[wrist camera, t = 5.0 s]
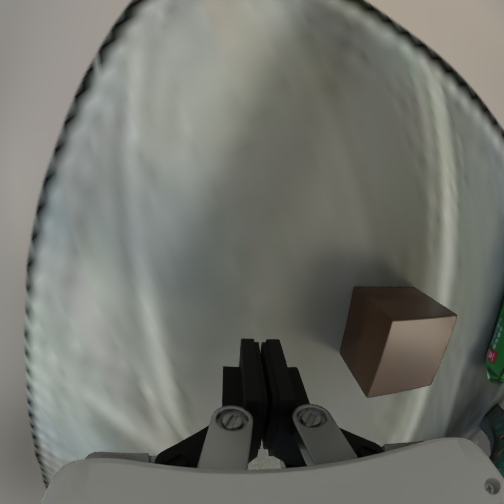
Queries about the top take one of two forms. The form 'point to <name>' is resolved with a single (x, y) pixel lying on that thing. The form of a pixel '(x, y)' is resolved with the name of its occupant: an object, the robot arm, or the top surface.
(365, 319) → the walnut block
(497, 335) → the snack package
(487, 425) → the ceramic cat
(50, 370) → the top surface
